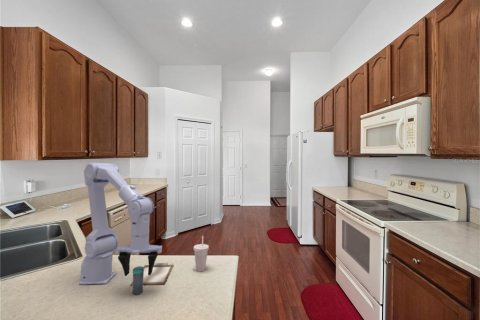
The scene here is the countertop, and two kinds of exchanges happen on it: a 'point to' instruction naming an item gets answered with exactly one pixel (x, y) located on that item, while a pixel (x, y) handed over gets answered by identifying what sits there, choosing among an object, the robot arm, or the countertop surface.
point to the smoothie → (200, 256)
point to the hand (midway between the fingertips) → (138, 274)
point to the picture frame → (156, 274)
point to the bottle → (138, 280)
